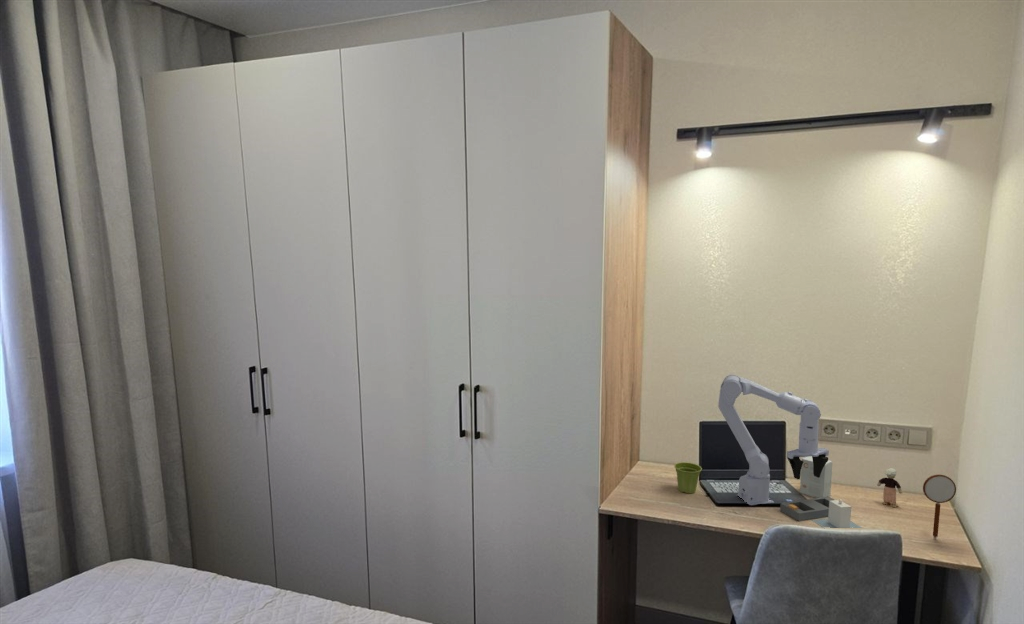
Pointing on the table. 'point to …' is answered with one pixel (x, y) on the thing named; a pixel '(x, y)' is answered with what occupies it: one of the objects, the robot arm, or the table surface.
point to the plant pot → (687, 476)
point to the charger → (839, 514)
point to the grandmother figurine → (890, 487)
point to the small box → (815, 479)
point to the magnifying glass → (938, 494)
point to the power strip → (807, 508)
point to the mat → (826, 524)
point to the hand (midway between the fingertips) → (806, 477)
